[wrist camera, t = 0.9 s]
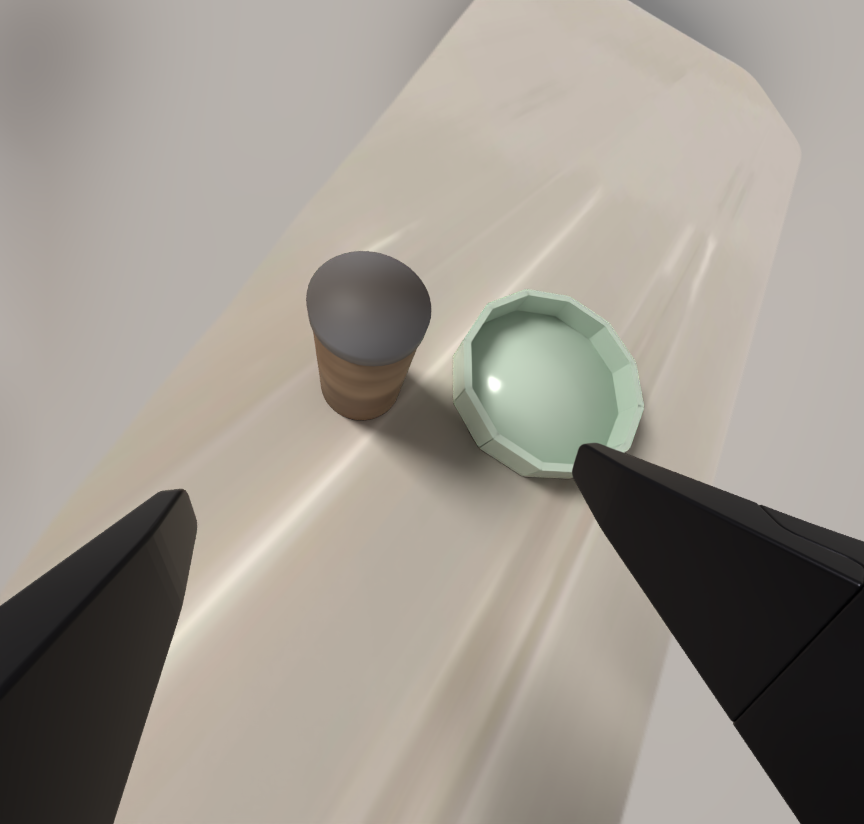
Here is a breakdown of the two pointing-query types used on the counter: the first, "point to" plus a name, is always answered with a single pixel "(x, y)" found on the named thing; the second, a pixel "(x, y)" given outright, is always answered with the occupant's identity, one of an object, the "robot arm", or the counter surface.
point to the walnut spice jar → (365, 329)
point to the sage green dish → (545, 383)
